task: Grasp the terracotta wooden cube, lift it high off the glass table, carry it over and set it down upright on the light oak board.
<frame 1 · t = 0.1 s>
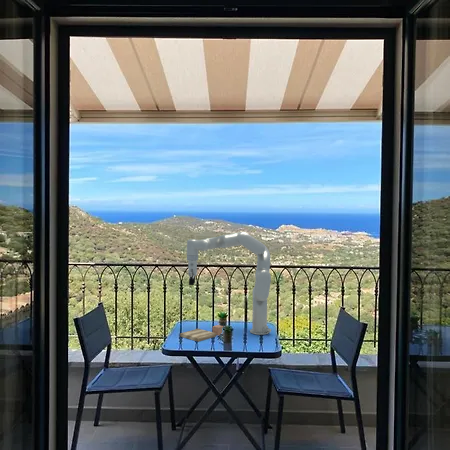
hand: (192, 284, 260), 31 cm above the table, tool pointing down, fingers open, 9 cm apart
oak board: (198, 336, 247), on the table
cube: (218, 334, 254), on the table
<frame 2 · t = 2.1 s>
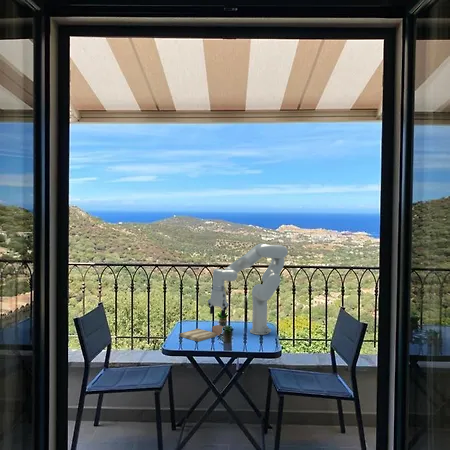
hand: (217, 315, 254), 12 cm above the table, tool pointing down, fingers open, 9 cm apart
nothing on the table moved.
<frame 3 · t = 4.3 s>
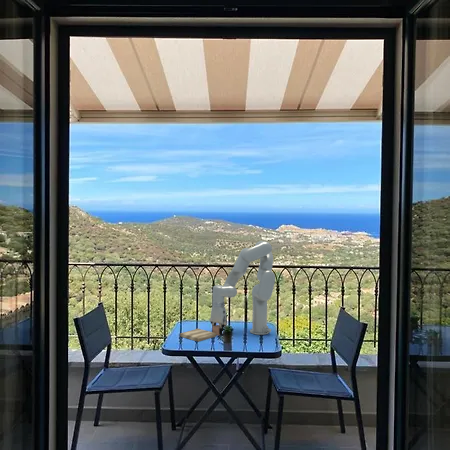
hand: (217, 332, 254), 1 cm above the table, tool pointing down, fingers closed on cube, 5 cm apart
cube: (217, 333, 254), on the table, touching gripper
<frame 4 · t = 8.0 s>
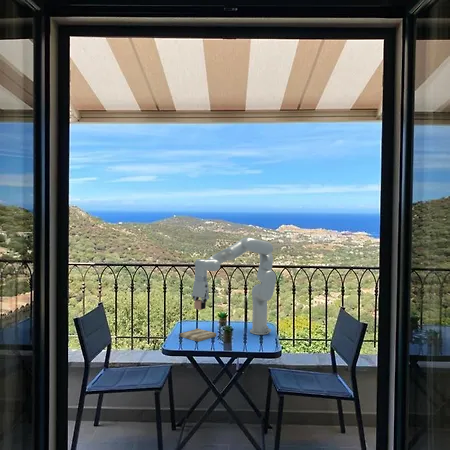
hand: (199, 307, 248), 18 cm above the table, tool pointing down, fingers closed on cube, 5 cm apart
cube: (199, 308, 248), point 17 cm above the table, touching gripper
when the fingers open (4 cm above the table, at t = 11.5 s): cube drops 1 cm, resting on oak board.
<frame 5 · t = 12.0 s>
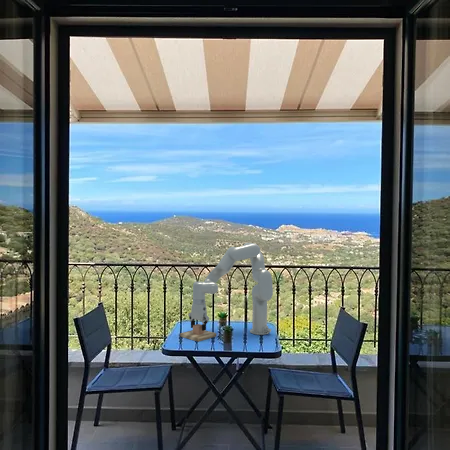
hand: (198, 328, 247), 5 cm above the table, tool pointing down, fingers open, 9 cm apart
cube: (198, 333, 247), point 2 cm above the table, touching oak board
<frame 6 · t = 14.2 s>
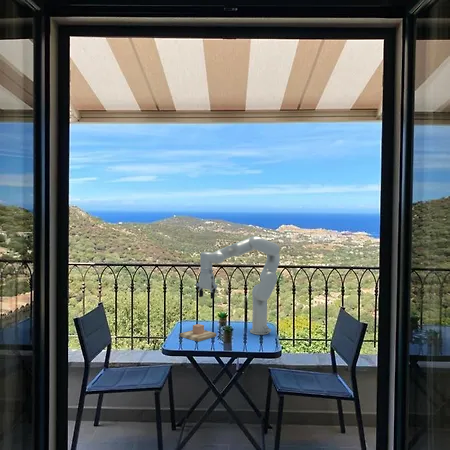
hand: (206, 297, 256), 23 cm above the table, tool pointing down, fingers open, 9 cm apart
nothing on the table moved.
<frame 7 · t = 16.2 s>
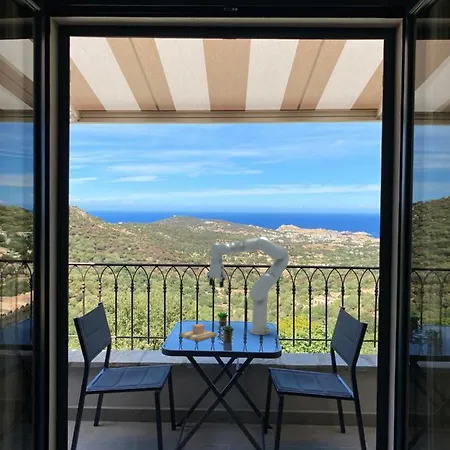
hand: (216, 286, 269), 28 cm above the table, tool pointing down, fingers open, 9 cm apart
nothing on the table moved.
at the end: cube inside the target area on the oak board (0.1 cm from its centre), point 2.0 cm above the oak board's base; cube tilted 0°; the gripper is holding nothing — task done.
